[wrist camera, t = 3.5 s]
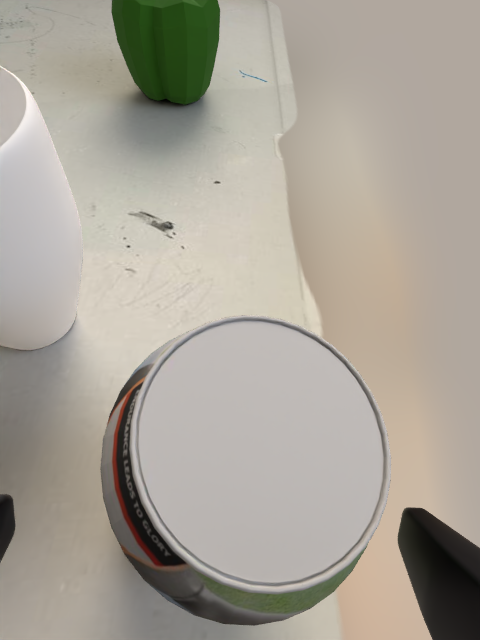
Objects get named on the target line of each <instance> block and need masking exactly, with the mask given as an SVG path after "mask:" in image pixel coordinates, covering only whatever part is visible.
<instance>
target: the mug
mask: <svg viewBox="0 0 480 640" xmlns="http://www.w3.org/2000/svg"><path fill="white" fill-rule="evenodd" d="M82 263H83V237H82V228H81V223H80V218H79V214H78V210H77V207H76V203H75V200H74V197H73V194H72V192H71V189H70V186H69V184H68V181H67V178H66V176H65V173H64V170H63V168H62V165H61V163H60V160H59V157H58V155H57V152H56V150H55V147H54V144H53V142H52V139H51V137H50V134H49V131H48V129H47V126H46V124H45V121H44V119H43V117H42V114H41V112H40V110H39V107H38V105H37V103H36V101H35V99H34V98H33V96H32V94H31V93H30V91H29V90H28V88H27V87H26V86H25V85H24V84H23V82H22V81H21V80H20V79H19V78H17V77H16V76H15V75H14V74H12V73H11V72H9V71H8V70H6V69H5V68H3V67H1V66H0V345H1V346H5V347H9V348H13V349H19V350H34V349H39V348H43V347H46V346H48V345H50V344H52V343H54V342H56V341H57V340H59V339H60V338H62V337H63V336H64V335H65V334H66V333H67V332H68V331H69V329H70V328H71V326H72V325H73V323H74V321H75V318H76V314H77V306H78V298H79V289H80V281H81V272H82Z"/></svg>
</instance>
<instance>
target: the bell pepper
mask: <svg viewBox="0 0 480 640" xmlns="http://www.w3.org/2000/svg"><path fill="white" fill-rule="evenodd" d="M112 16H113V21H114V26H115V31H116V36H117V41H118V43H119V46H120V49H121V51H122V54H123V56H124V59H125V61H126V64H127V66H128V69H129V71H130V73H131V75H132V77H133V80H134V82H135V83H136V84H137V86H138V87H139V88H140V89H141V90H142V91H143V92H144V94H145V95H146V96H147V97H148V98H149V99H154V100H158V101H159V100H163V99H166V98H167V99H168V100H170V101H171V102H175V103H180V104H184V105H186V104H189V103H192V102H195V101H198V100H199V99H200V98H201V97H202V96H203V95H204V94H205V92H206V90H207V88H208V87H209V85H210V81H211V76H212V72H213V68H214V63H215V58H216V53H217V47H218V42H219V23H220V8H219V4H218V1H217V0H112Z"/></svg>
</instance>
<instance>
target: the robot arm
mask: <svg viewBox="0 0 480 640" xmlns="http://www.w3.org/2000/svg"><path fill="white" fill-rule="evenodd" d="M14 531H15V516H14V505H13V498H12V497H11V496H10V495H7V494H0V562H1V560H2V558H3V556H4V554H5V552H6V550H7V548H8V546H9V544H10V542H11V539H12V537H13V535H14ZM398 545H399V549H400V552H401V555H402V557H403V561H404V563H405V566H406V569H407V572H408V575H409V578H410V581H411V584H412V587H413V590H414V593H415V595H416V598H417V601H418V604H419V607H420V610H421V612H422V615H423V618H424V621H425V623H426V625H427V628H428V630H429V632H430V635H431V637H432V639H433V640H480V548H479V547H477V546H476V545H475V544H473V543H472V542H470V541H469V540H468V539H466V538H464V537H463V536H462V535H460V534H459V533H458V532H456V531H454V530H453V529H452V528H450V527H449V526H447V525H446V524H445V523H443V522H442V521H440V520H439V519H437V518H436V517H435V516H433V515H432V514H430V513H429V512H428V511H426V510H425V509H422V508H405V509H404V511H403V513H402V518H401V523H400V528H399V533H398Z"/></svg>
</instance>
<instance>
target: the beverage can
mask: <svg viewBox="0 0 480 640" xmlns="http://www.w3.org/2000/svg"><path fill="white" fill-rule="evenodd" d="M390 472H391V456H390V448H389V441H388V435H387V431H386V428H385V424H384V421H383V417H382V414H381V412H380V409H379V407H378V405H377V403H376V400H375V398H374V396H373V394H372V392H371V391H370V389H369V387H368V386H367V384H366V382H365V381H364V379H363V378H362V376H361V375H360V373H359V372H358V371H357V370H356V369H355V368H354V366H353V365H352V364H351V363H350V361H349V360H348V359H347V358H346V357H345V356H343V355H342V354H341V353H340V352H339V351H338V350H337V349H336V348H335V347H334V346H333V345H331V344H330V343H328V342H327V341H325V340H324V339H323V338H321V337H320V336H318V335H317V334H315V333H313V332H311V331H309V330H307V329H305V328H303V327H301V326H299V325H296V324H293V323H291V322H288V321H285V320H282V319H277V318H272V317H266V316H253V315H241V316H233V317H225V318H222V319H218V320H215V321H211V322H208V323H205V324H203V325H201V326H199V327H197V328H195V329H193V330H190V331H188V332H186V333H184V334H182V335H180V336H178V337H176V338H174V339H172V340H170V341H168V342H167V343H165V344H164V345H163V346H161V347H160V348H159V349H157V350H156V351H154V352H153V353H152V354H151V355H150V356H149V357H148V358H147V359H146V360H145V361H144V362H143V363H142V364H141V365H140V366H139V367H138V368H137V369H136V370H135V371H134V372H133V374H132V375H131V377H130V378H129V380H128V381H127V383H126V384H125V385H124V387H123V388H122V390H121V391H120V394H119V396H118V398H117V400H116V402H115V404H114V407H113V409H112V411H111V413H110V416H109V420H108V423H107V427H106V431H105V435H104V438H103V447H102V458H101V479H102V490H103V499H104V502H105V506H106V510H107V513H108V517H109V520H110V524H111V527H112V529H113V531H114V533H115V536H116V538H117V540H118V542H119V544H120V546H121V548H122V550H123V552H124V554H125V555H126V557H127V558H128V559H129V561H130V562H131V563H132V565H133V566H134V567H135V569H136V570H137V571H138V573H139V574H140V575H141V576H142V578H143V579H144V580H145V581H146V582H147V583H148V584H149V585H151V586H152V587H153V588H154V589H155V590H156V591H157V592H159V593H160V594H161V595H162V596H163V597H164V598H165V599H167V600H168V601H170V602H172V603H173V604H175V605H177V606H179V607H181V608H182V609H184V610H186V611H188V612H190V613H191V614H193V615H196V616H199V617H203V618H206V619H209V620H213V621H216V622H220V623H223V624H236V625H260V624H265V623H271V622H276V621H282V620H285V619H287V618H290V617H292V616H294V615H297V614H299V613H301V612H304V611H306V610H308V609H310V608H312V607H313V606H315V605H316V604H317V603H319V602H320V601H321V600H323V599H324V598H326V597H327V596H328V595H330V594H331V593H333V592H334V591H335V590H336V588H337V587H338V586H339V585H340V584H341V583H342V582H343V581H344V580H345V578H346V577H347V576H348V575H349V574H350V573H351V572H352V570H353V569H354V567H355V565H356V564H357V562H358V560H359V559H360V557H361V555H362V554H363V552H364V550H365V549H366V547H367V545H368V542H369V540H370V539H371V537H372V535H373V534H374V532H375V530H376V529H377V527H378V525H379V522H380V519H381V517H382V514H383V511H384V509H385V506H386V502H387V497H388V491H389V486H390V475H391V474H390Z"/></svg>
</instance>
